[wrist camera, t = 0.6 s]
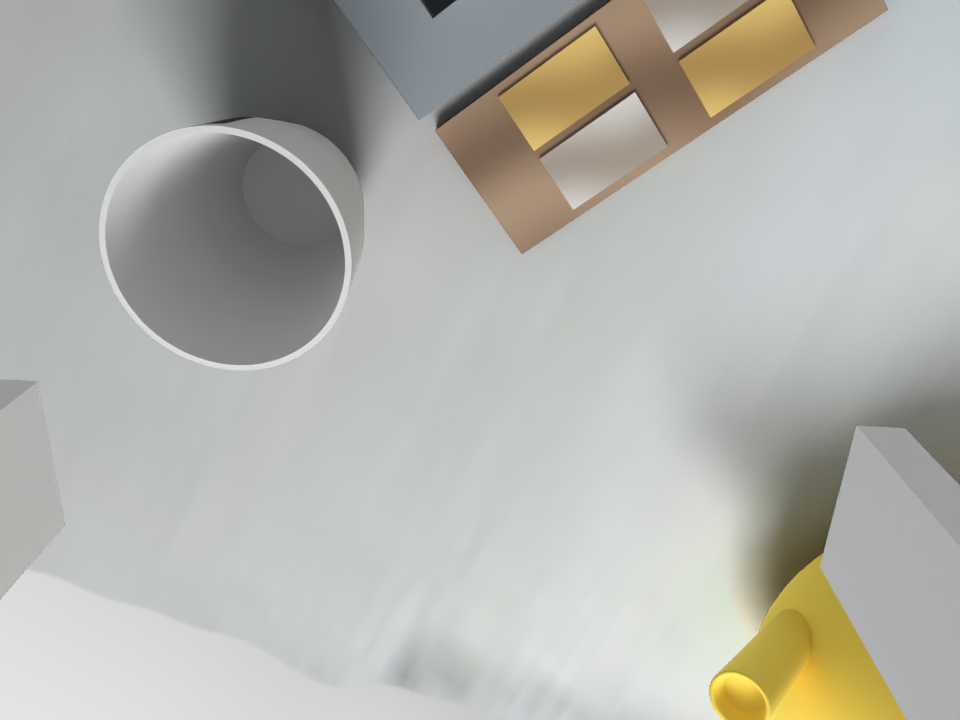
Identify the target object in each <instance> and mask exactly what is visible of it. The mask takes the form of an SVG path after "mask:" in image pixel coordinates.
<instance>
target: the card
mask: <svg viewBox="0 0 960 720" xmlns="http://www.w3.org/2000/svg"><path fill="white" fill-rule="evenodd" d="M887 10H888V8H887V6H886V4H885V2H884V0H610V1H609V2H607V3H606V4H605V5H603V6H602V7H601V8H599V9H598V10H597V11H595V12H594V13H593V14H591V15H590V16H588V17H587V18H586V19H584V20H583V21H582V22H580V23H579V24H578V25H576V26H575V27H574V28H572V29H571V30H570V31H568V32H567V33H565V34H564V35H563V36H561V37H560V38H559V39H557V40H556V41H555V42H553V43H552V44H551V45H549V46H548V47H547V48H545V49H544V50H542V51H541V52H540V53H538V54H537V55H536V56H534V57H533V58H532V59H530V60H529V61H528V62H526V63H525V64H524V65H522V66H521V67H519V68H518V69H517V70H515V71H514V72H513V73H511V74H510V75H509V76H507V77H506V78H505V79H503V80H502V81H501V82H499V83H498V84H496V85H495V86H494V87H492V88H491V89H490V90H488V91H487V92H486V93H484V94H483V95H482V96H480V97H479V98H478V99H476V100H475V101H473V102H472V103H471V104H469V105H468V106H467V107H465V108H464V109H463V110H461V111H460V112H459V113H457V114H456V115H455V116H453V117H452V118H450V119H449V120H448V121H446V122H445V123H444V124H442V125H441V126H440V127H438V128H437V129H436V130H435V131H436V133H437V134H438V136H439V137H440V139H441V140H442V141H443V143H444V144H445V146H446V147H447V149H448V150H449V151H450V153H451V154H452V156H453V157H454V158H455V160H456V161H457V163H458V164H459V166H460V167H461V168H462V170H463V171H464V173H465V174H466V175H467V177H468V178H469V180H470V181H471V183H472V184H473V185H474V187H475V188H476V190H477V191H478V193H479V194H480V195H481V197H482V198H483V200H484V201H485V202H486V204H487V205H488V207H489V208H490V210H491V211H492V212H493V214H494V215H495V217H496V218H497V220H498V221H499V222H500V224H501V225H502V227H503V228H504V229H505V231H506V232H507V234H508V235H509V237H510V238H511V239H512V241H513V242H514V244H515V245H516V246H517V248H518V249H519V251H520V252H521V254H523V253H525V252H526V251H528V250H529V249H531V248H532V247H534V246H535V245H537V244H538V243H540V242H541V241H543V240H544V239H546V238H547V237H549V236H550V235H552V234H553V233H555V232H556V231H558V230H559V229H561V228H562V227H564V226H565V225H567V224H568V223H570V222H571V221H573V220H574V219H576V218H577V217H579V216H580V215H582V214H583V213H585V212H586V211H587V210H589V209H590V208H592V207H593V206H595V205H596V204H598V203H599V202H601V201H602V200H604V199H605V198H607V197H608V196H610V195H611V194H613V193H614V192H616V191H617V190H619V189H620V188H622V187H623V186H625V185H626V184H628V183H629V182H631V181H632V180H634V179H635V178H637V177H638V176H640V175H641V174H643V173H644V172H646V171H647V170H649V169H650V168H652V167H653V166H655V165H656V164H658V163H659V162H661V161H662V160H664V159H665V158H667V157H668V156H670V155H671V154H673V153H674V152H676V151H677V150H679V149H680V148H682V147H683V146H685V145H686V144H688V143H689V142H691V141H692V140H694V139H695V138H697V137H698V136H700V135H701V134H703V133H704V132H706V131H707V130H709V129H710V128H712V127H713V126H715V125H716V124H718V123H719V122H721V121H722V120H724V119H725V118H727V117H728V116H730V115H731V114H733V113H734V112H736V111H737V110H739V109H740V108H742V107H743V106H745V105H746V104H748V103H749V102H751V101H752V100H754V99H755V98H757V97H758V96H760V95H761V94H763V93H764V92H766V91H767V90H769V89H770V88H772V87H773V86H775V85H776V84H778V83H779V82H781V81H782V80H784V79H785V78H787V77H788V76H790V75H791V74H793V73H794V72H796V71H797V70H799V69H800V68H802V67H803V66H805V65H806V64H808V63H809V62H811V61H812V60H814V59H815V58H817V57H818V56H820V55H821V54H823V53H824V52H826V51H827V50H829V49H830V48H832V47H833V46H835V45H836V44H838V43H839V42H841V41H842V40H844V39H845V38H847V37H848V36H850V35H851V34H853V33H854V32H856V31H857V30H859V29H860V28H862V27H863V26H865V25H866V24H868V23H869V22H871V21H872V20H874V19H875V18H877V17H878V16H880V15H881V14H882V13H884V12H885V11H887Z"/></svg>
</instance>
